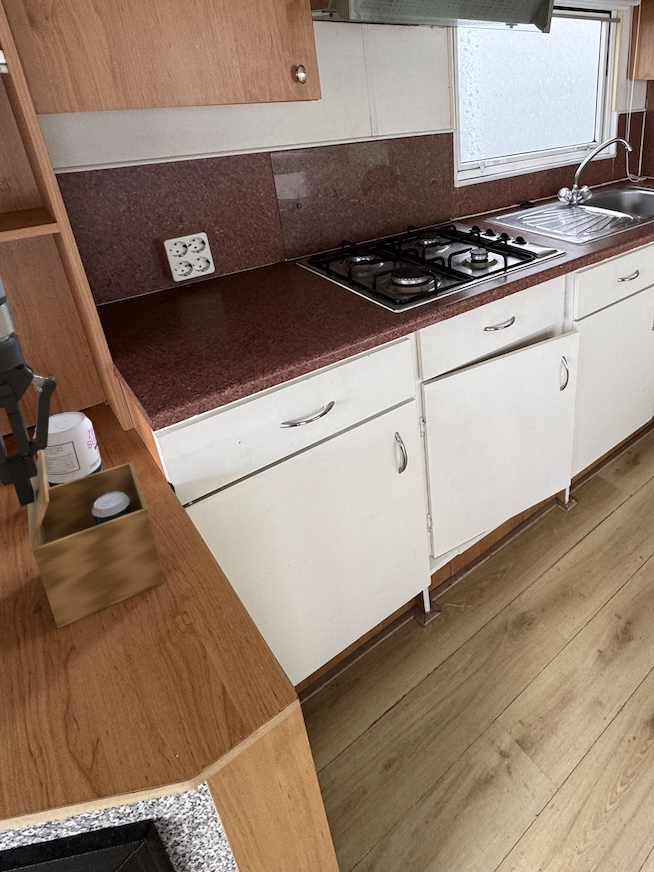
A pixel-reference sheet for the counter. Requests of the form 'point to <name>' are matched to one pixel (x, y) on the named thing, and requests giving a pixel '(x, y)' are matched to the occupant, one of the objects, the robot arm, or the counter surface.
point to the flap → (38, 499)
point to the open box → (95, 546)
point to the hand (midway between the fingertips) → (27, 498)
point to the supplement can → (70, 449)
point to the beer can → (111, 507)
